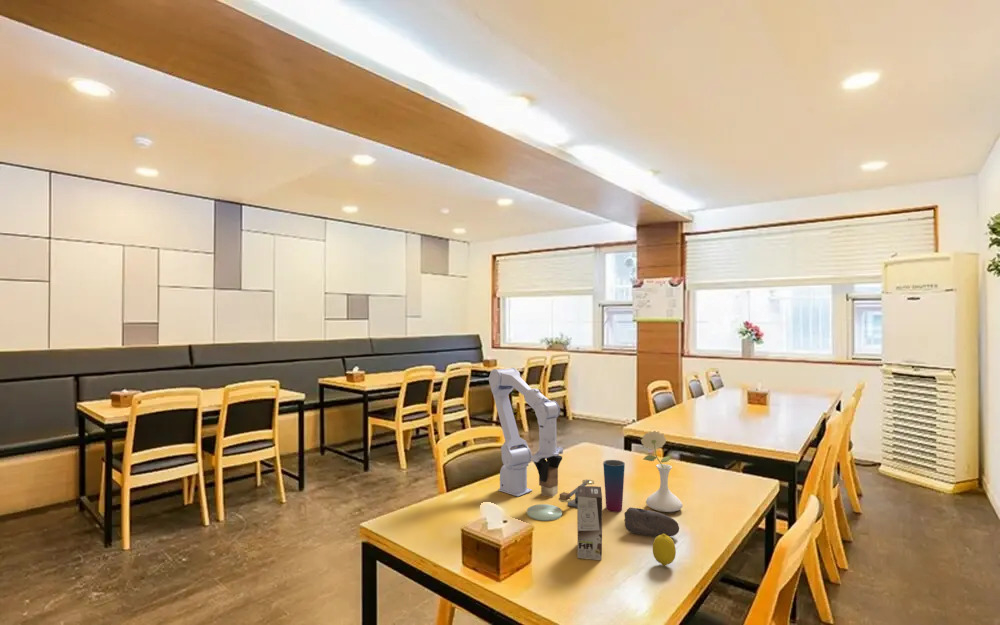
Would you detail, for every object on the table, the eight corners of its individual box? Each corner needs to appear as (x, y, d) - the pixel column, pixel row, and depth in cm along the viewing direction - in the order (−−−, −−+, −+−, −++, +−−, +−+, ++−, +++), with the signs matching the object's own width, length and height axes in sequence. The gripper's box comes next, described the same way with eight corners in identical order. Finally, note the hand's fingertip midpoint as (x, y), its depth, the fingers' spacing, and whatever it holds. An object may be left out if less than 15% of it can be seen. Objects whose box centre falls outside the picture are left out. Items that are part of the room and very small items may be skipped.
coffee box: (602, 560, 133) (602, 497, 133) (577, 558, 134) (576, 496, 134) (601, 545, 142) (601, 486, 142) (578, 543, 143) (577, 484, 143)
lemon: (649, 561, 132) (649, 529, 132) (670, 560, 133) (670, 529, 133) (657, 571, 127) (657, 539, 127) (679, 570, 127) (679, 538, 127)
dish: (520, 514, 164) (520, 510, 164) (541, 504, 172) (541, 501, 172) (547, 523, 156) (547, 520, 156) (569, 513, 164) (569, 510, 164)
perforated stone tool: (679, 535, 148) (679, 511, 148) (679, 543, 143) (678, 517, 143) (625, 527, 153) (625, 504, 153) (623, 534, 148) (623, 510, 148)
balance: (556, 510, 167) (556, 490, 167) (586, 496, 179) (586, 477, 179) (566, 513, 164) (566, 493, 164) (596, 499, 177) (596, 480, 177)
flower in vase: (684, 505, 171) (684, 429, 171) (680, 517, 160) (680, 437, 161) (643, 499, 176) (643, 426, 176) (637, 511, 166) (637, 433, 166)
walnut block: (539, 485, 171) (539, 468, 171) (547, 482, 174) (547, 465, 174) (549, 488, 168) (549, 471, 168) (557, 485, 171) (557, 468, 171)
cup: (625, 513, 164) (625, 466, 164) (603, 512, 165) (603, 465, 165) (624, 505, 170) (624, 460, 170) (603, 504, 172) (603, 459, 172)
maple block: (541, 495, 181) (541, 479, 181) (546, 491, 185) (546, 475, 185) (552, 497, 179) (552, 481, 179) (557, 493, 183) (557, 477, 183)
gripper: (544, 444, 163) (544, 487, 163) (570, 436, 174) (570, 476, 174) (526, 440, 168) (526, 482, 168) (553, 433, 179) (553, 472, 179)
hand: (548, 479), depth 171 cm, fingers closed on walnut block, 4 cm apart
